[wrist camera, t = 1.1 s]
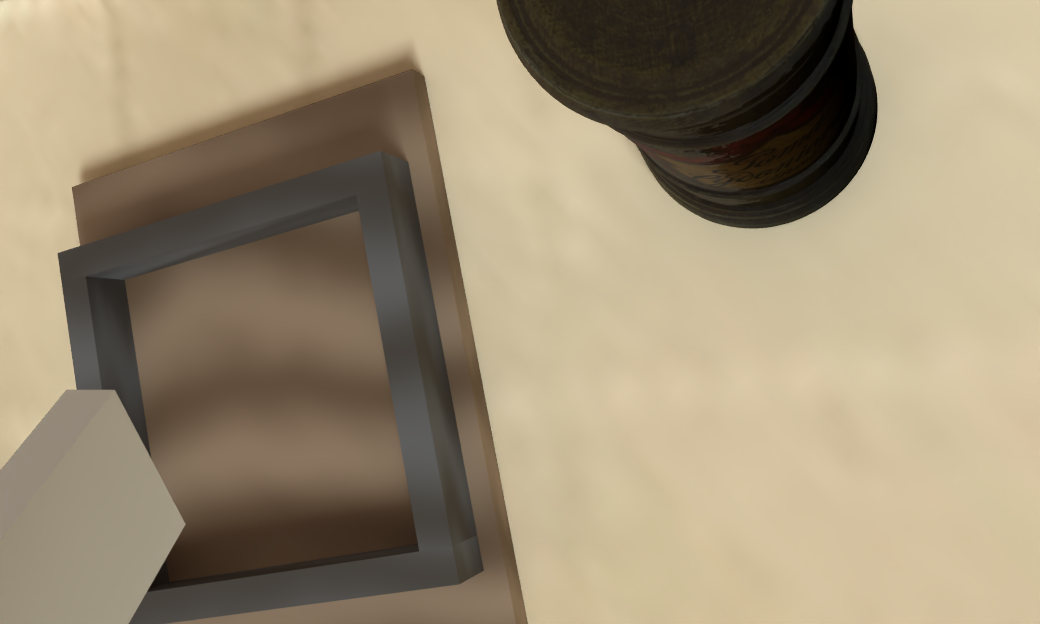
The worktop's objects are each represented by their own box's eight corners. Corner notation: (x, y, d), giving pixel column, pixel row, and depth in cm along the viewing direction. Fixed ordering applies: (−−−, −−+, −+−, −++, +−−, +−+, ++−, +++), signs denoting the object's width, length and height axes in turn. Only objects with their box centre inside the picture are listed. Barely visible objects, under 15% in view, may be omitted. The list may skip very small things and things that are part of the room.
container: (604, 108, 40) (405, -66, 23) (781, -39, 38) (702, -351, 21) (731, 277, 38) (612, 220, 21) (927, 132, 36) (969, -62, 19)
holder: (533, 656, 40) (501, 684, 37) (163, 693, 47) (106, 721, 44) (424, 76, 43) (384, 52, 40) (90, 191, 50) (31, 179, 47)
